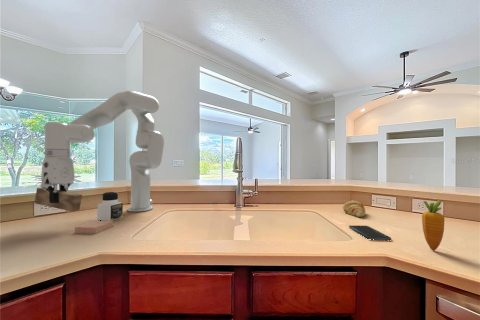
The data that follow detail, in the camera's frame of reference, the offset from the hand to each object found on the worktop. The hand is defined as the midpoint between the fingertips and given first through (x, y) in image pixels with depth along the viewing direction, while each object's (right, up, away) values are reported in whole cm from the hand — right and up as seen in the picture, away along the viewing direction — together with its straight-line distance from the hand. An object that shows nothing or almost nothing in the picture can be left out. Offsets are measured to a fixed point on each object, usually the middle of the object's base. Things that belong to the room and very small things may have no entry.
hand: (58, 201), depth 84 cm
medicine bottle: (+12, -11, +13) cm, 21 cm away
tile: (+11, -9, -2) cm, 15 cm away
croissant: (+129, -12, +28) cm, 133 cm away
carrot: (+128, -11, -20) cm, 130 cm away
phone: (+118, -11, -5) cm, 118 cm away
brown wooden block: (-1, -2, 0) cm, 2 cm away
